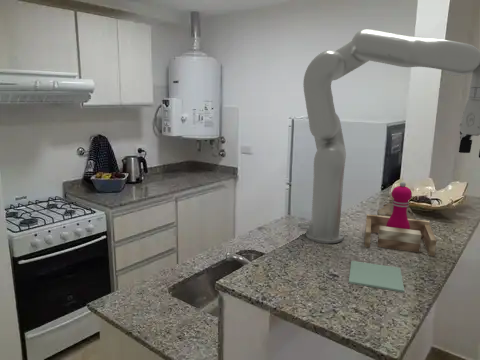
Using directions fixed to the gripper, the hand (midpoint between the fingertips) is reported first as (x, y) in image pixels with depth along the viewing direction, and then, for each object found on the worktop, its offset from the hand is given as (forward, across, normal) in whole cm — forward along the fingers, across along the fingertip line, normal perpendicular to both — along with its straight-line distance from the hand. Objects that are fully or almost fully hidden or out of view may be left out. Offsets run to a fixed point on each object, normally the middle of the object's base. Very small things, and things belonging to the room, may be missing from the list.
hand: (474, 155), depth 107 cm
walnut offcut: (+31, -4, -17) cm, 35 cm away
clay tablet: (+31, -35, -4) cm, 47 cm away
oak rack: (+31, -8, -15) cm, 35 cm away
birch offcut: (+28, -4, -17) cm, 33 cm away
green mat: (+31, +16, -31) cm, 46 cm away
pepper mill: (+31, -10, -15) cm, 36 cm away
